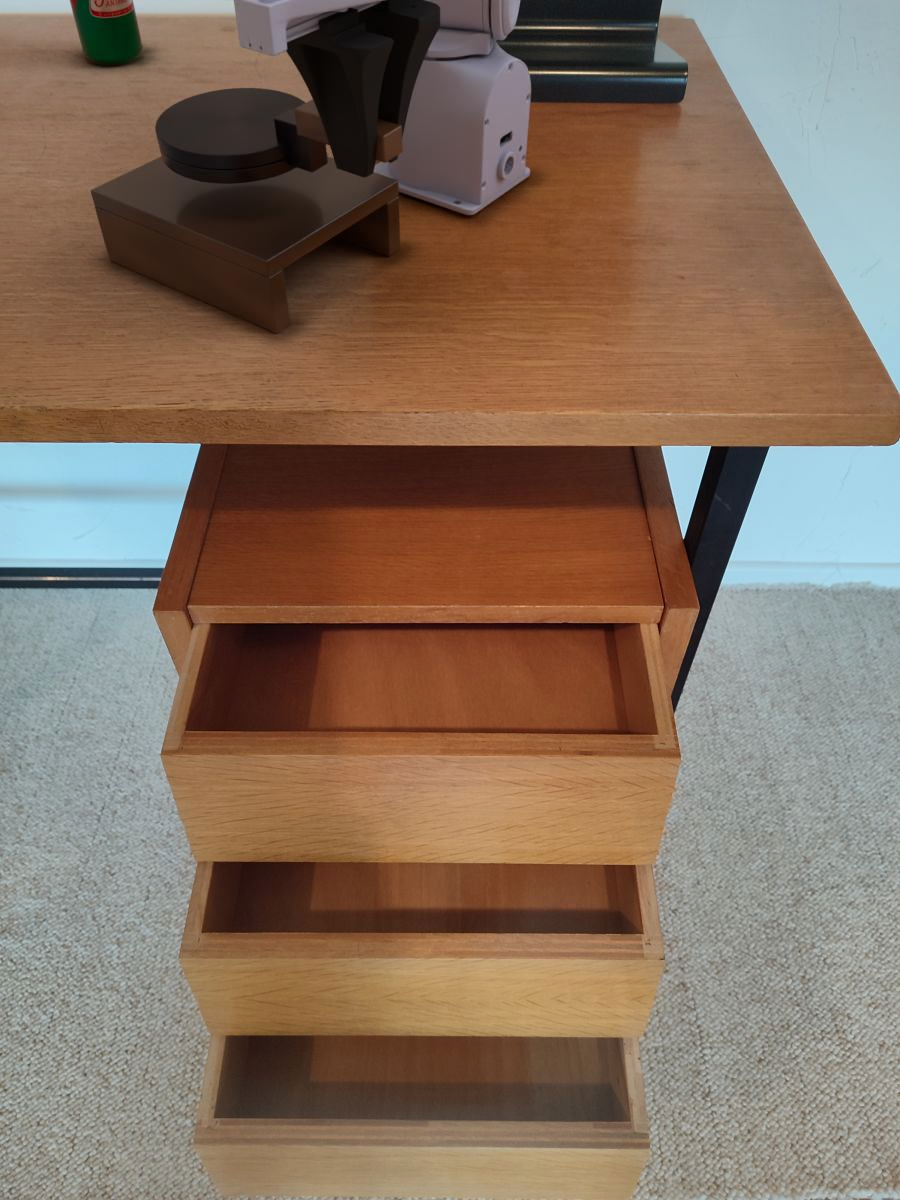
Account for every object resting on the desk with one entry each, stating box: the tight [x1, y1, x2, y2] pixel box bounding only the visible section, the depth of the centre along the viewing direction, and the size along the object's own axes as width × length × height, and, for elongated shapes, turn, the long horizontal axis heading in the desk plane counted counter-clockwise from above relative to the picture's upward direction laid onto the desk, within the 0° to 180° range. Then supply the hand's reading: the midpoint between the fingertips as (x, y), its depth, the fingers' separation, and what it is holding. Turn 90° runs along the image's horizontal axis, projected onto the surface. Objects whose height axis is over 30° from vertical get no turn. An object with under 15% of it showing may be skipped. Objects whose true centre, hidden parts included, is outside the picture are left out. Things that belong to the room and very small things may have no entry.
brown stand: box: [90, 156, 401, 334], centre depth 57 cm, size 14×12×4 cm
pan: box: [154, 87, 403, 184], centre depth 52 cm, size 16×9×4 cm, turn 56°
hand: (367, 163), depth 50 cm, fingers closed on pan
